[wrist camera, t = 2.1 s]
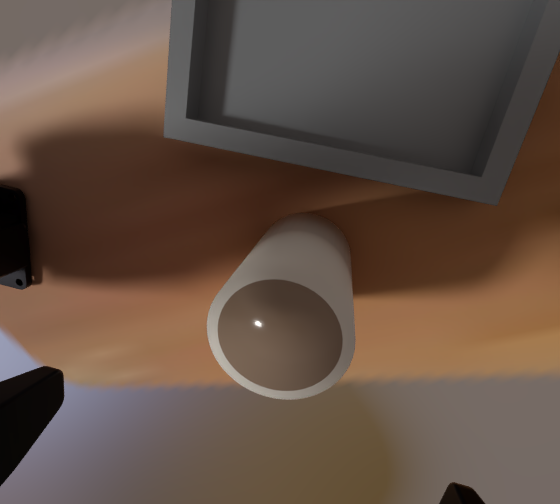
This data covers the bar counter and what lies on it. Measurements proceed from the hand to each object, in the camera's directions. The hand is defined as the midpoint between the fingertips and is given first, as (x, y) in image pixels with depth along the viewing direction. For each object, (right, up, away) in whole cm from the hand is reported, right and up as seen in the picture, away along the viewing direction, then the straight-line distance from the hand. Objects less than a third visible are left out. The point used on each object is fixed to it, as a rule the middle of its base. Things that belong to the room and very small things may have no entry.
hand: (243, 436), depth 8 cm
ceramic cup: (+2, +4, +11) cm, 12 cm away
